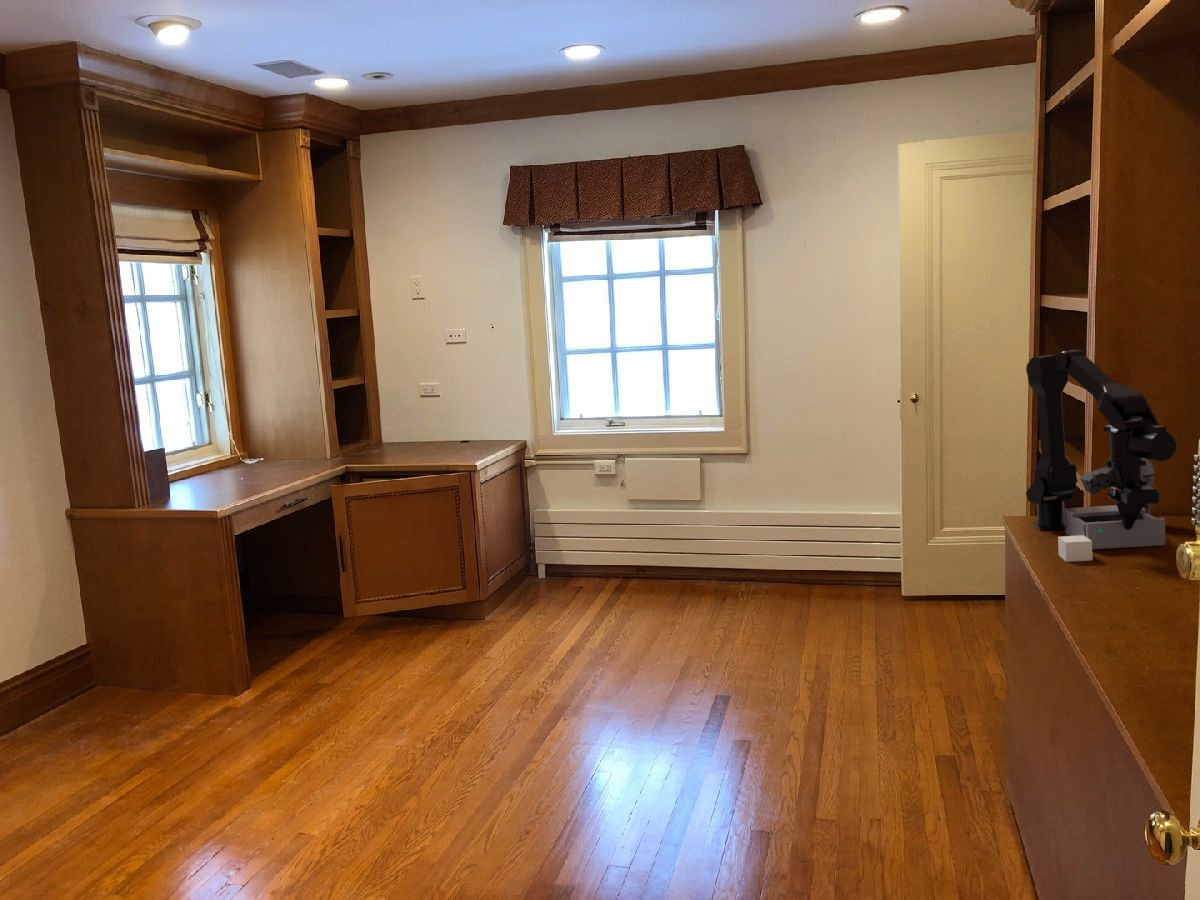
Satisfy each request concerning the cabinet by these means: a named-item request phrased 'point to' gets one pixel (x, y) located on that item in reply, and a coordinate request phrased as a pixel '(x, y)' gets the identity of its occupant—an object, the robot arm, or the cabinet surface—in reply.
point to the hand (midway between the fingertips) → (1127, 529)
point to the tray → (1126, 534)
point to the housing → (1092, 517)
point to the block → (1075, 548)
